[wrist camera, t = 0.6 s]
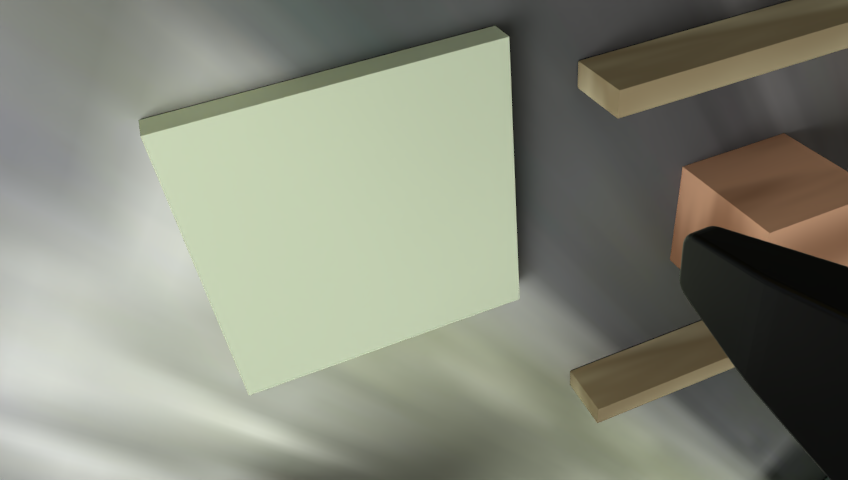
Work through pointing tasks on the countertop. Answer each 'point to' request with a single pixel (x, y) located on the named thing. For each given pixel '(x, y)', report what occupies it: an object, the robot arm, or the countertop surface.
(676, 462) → the countertop surface
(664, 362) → the open wooden frame
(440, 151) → the pad
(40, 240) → the countertop surface
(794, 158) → the terracotta cube
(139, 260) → the countertop surface
